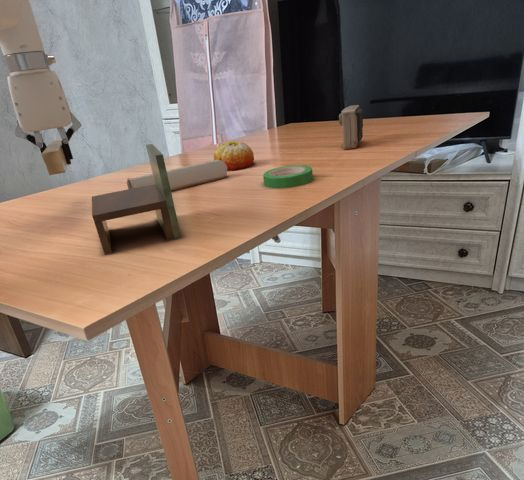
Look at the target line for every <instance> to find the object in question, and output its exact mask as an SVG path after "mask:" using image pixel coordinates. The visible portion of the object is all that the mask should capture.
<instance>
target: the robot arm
mask: <svg viewBox="0 0 524 480" xmlns="http://www.w3.org/2000/svg"><path fill="white" fill-rule="evenodd" d="M44 47H45V46H44V44H43V41H42V37H41V34H40V32H39V28H38V25H37V21H36V19H35V15H34V11H33V8H32V5H31V1H30V0H0V50H1V52H2V56H3V59H4V62H5V64H6V67H7V70H8V73H9V75H8V76H7V77H6V79H7V86H8V90H9V94H10V98H11V102H12V105H13V109H14V112H15V116H16V122H15V123H16V124H15V130H14V131H15V132H14V136H15V137H17V138H20V139H23V140H25V141H27V142H30V143H32V144H33V145H34V146H36V147H37V148H38V149H39V151H40V155H41V157H42V159H43V160H42V161H43V162H44V163H45V161H44V158H43V155H42V153H43V151H44V150H45V149H46V147H47V146H48V145H46V143H45V141H44V137H43V133H42V131H47V130H51V129H53V130H54V129H57V132H58V134H59V136H60V140H62V141H61V142H62V145H61V146H62V149H63V152H64V155H65V159H66V162H67V164H68V165H71V164H72V160H74V157H73V153H72V150H71V147H70V143H69V142H70V140H71V138H72V137H73V135H74V134H75V133H76V132H77V131H78V130H79V129H81V127H82V122H81V121H80V119H78V118H77V117H76V115H75V114H74V113H73V112H72V110H71V109H70V106H69V103H68V100H67V97H66V94H65V91H64V88H63V86H62V84H61V81H60V78H59V76H58V75H57V72H56V70H51V66H52V65H53V64H57V60H56V58H55V55H54V54H48V53H46V51H45V48H44ZM71 123H72V125H71ZM69 125H71V126H70V127H68V128H67V130H66V129H65V127H67V126H69ZM32 132H33V134H31V133H32ZM68 165H67V166H68Z"/></svg>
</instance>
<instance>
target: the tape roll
mask: <svg viewBox="0 0 524 480" xmlns="http://www.w3.org/2000/svg"><path fill="white" fill-rule="evenodd" d="M262 176H263V177H262V178H263V186H264V187H266V188H270V189H288V188H295V187H300V186H303V185H304V186H305V185H307V184H309V183H311V182H312V181H313V180H314V179H313V178H314V177H313V168H312V166H309V165H305V164H296V165H295V164H293V165H285V166H279V167H275V168H271V169H268V170H267V171H264V173H262Z"/></svg>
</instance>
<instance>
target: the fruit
mask: <svg viewBox="0 0 524 480" xmlns="http://www.w3.org/2000/svg"><path fill="white" fill-rule="evenodd" d="M213 160H221V161H223V162H224V163H225V164H226V166H227V172H233V171H234V172H235V171H237V170H244V169H247V168H250V167H252V166H253V165H254V162H255V156H254V152H253V150H252V148H251V147H250V145H248V144H246V143H244V142H243V141H242V142H241V141H240V142H236V141H227V142H223V143H222V144H221V145H218V147H217V148H216V150H215V152H214V153H213Z"/></svg>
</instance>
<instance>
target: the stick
mask: <svg viewBox="0 0 524 480" xmlns="http://www.w3.org/2000/svg"><path fill="white" fill-rule="evenodd" d="M61 141H62V139H56V140H52V141H51V140H50V142H49V143H48V145H46V146H47V147H46V149H45V150H44V151H43V153H42V154H41V156H42V155H43V157H42V159H43V158H44V160H43V162H44V161H45V162H44V164H45V167H46V170H47V172H48V175H49V176H53V175H59V174H65V173H66V171H67V168H68V164H67V162H66V159H65V155H64V152H63V149H62V146H61V145H62V142H61Z"/></svg>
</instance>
